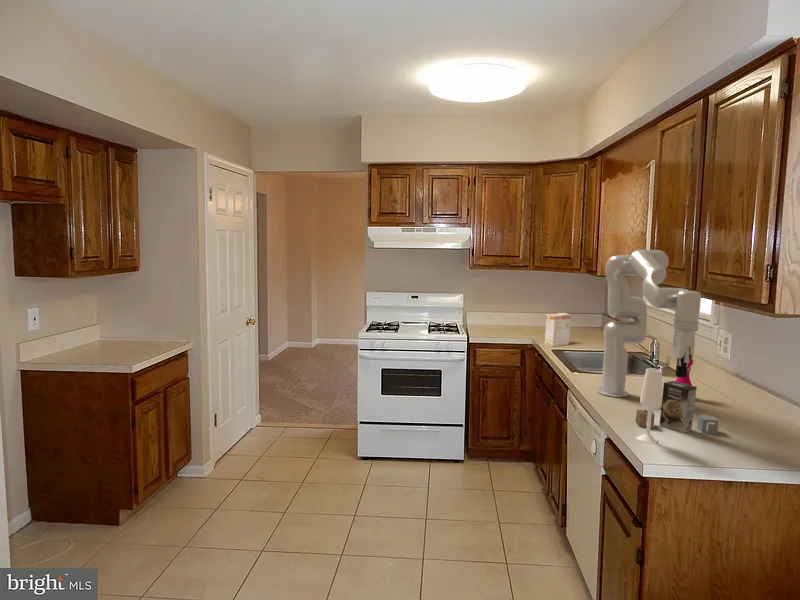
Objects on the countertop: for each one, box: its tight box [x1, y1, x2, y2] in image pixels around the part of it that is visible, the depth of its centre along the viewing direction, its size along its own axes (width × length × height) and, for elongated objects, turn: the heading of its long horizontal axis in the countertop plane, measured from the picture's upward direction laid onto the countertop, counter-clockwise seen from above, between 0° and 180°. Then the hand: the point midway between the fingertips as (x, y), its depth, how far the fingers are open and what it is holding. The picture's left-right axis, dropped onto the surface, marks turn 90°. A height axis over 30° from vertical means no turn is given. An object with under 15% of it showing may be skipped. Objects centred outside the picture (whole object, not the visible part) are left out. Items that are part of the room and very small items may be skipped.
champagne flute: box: [636, 367, 663, 444], centre depth 186 cm, size 7×7×24 cm
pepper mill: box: [675, 358, 694, 386], centre depth 240 cm, size 7×7×20 cm
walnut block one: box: [635, 408, 655, 429], centre depth 202 cm, size 5×5×6 cm
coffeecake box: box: [544, 312, 572, 347], centre depth 347 cm, size 15×7×20 cm, turn 123°
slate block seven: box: [696, 414, 720, 435], centre depth 198 cm, size 5×5×5 cm
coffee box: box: [659, 380, 698, 434], centre depth 200 cm, size 9×6×16 cm
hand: (680, 376), depth 199 cm, fingers closed
